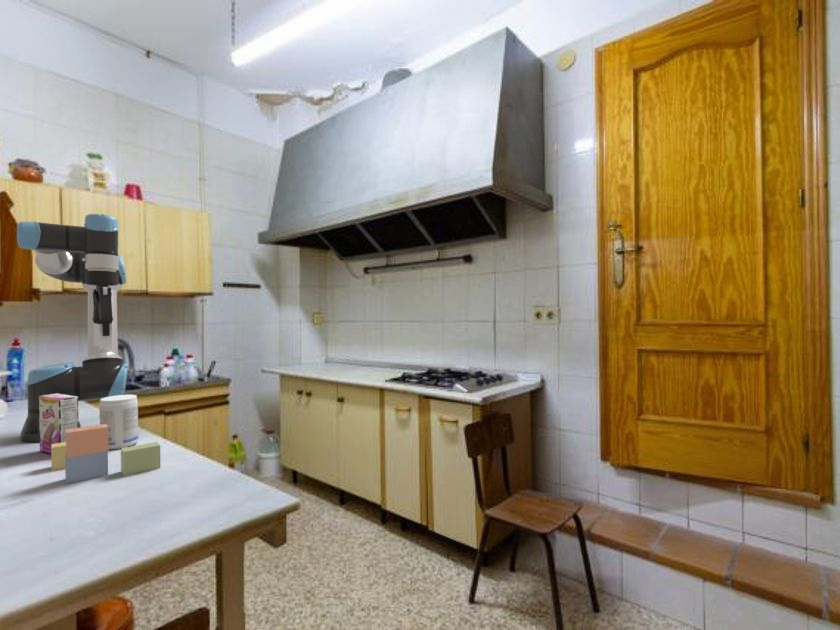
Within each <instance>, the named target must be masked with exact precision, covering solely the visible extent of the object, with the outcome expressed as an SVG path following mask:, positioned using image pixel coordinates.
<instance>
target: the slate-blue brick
mask: <svg viewBox="0 0 840 630" xmlns="http://www.w3.org/2000/svg"><path fill="white" fill-rule="evenodd" d="M64 471H65V472H64V473H65V475H64V476H65V483H67V484H71V482H72V483H76V481H77V482H81V480H82V481H86V479H87V480H91V479H90V478H92V479H95V477H97V478H101V477H100V476H102V477H105V476H104V475H106V476H108V475H109V451H106V452H101V453H95V454H89V455H84V456H78V457H72V458H67V457H66V454H65V470H64Z"/></svg>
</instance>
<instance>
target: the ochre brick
mask: <svg viewBox="0 0 840 630" xmlns="http://www.w3.org/2000/svg"><path fill="white" fill-rule="evenodd" d="M65 454H66V442H63V443H56V444H51V454H50V457H51V458H50V460H51V462H50V463H51V464H50V465H51V466H50V467H51V471H52V470H54V471H57V470H56V469H60V470H63V469H62V468H65Z"/></svg>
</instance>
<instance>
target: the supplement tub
mask: <svg viewBox="0 0 840 630" xmlns="http://www.w3.org/2000/svg"><path fill="white" fill-rule="evenodd" d="M102 424H107V426H108V444H109V449H112V450H121V449H120V448H125V447H129V446H130V447H131V446H136V444H137V443H138V442H139V441H140V440H139V436H140V435H139V403H138V397H137V394H123V395H117V396H110V397H105V398H102V399H99V425H102Z"/></svg>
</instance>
